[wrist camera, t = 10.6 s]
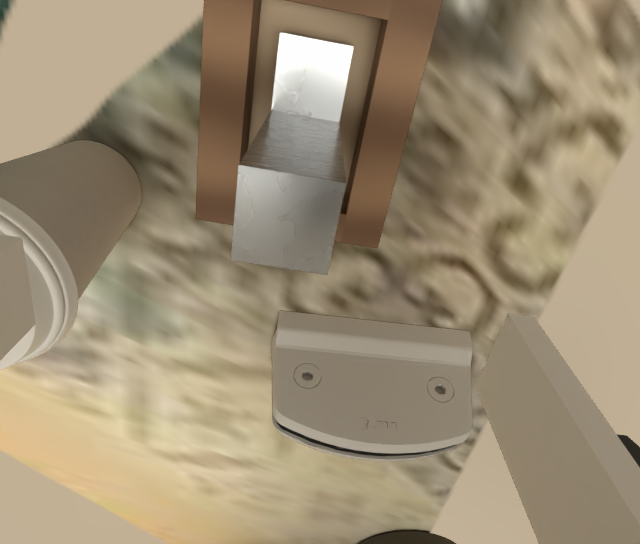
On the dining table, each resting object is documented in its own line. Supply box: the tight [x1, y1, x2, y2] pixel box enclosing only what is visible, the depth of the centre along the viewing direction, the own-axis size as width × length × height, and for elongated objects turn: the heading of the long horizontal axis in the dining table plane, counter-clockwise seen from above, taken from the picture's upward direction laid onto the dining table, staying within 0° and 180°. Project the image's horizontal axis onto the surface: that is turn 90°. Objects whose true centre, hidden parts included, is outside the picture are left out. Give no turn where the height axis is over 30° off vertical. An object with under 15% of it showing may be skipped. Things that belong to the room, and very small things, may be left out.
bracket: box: [231, 31, 353, 275], centre depth 23 cm, size 8×4×14 cm, turn 170°
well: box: [196, 0, 442, 248], centre depth 28 cm, size 15×12×4 cm
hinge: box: [272, 310, 473, 461], centre depth 36 cm, size 17×5×10 cm, turn 83°
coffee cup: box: [0, 140, 142, 370], centre depth 26 cm, size 10×10×15 cm
